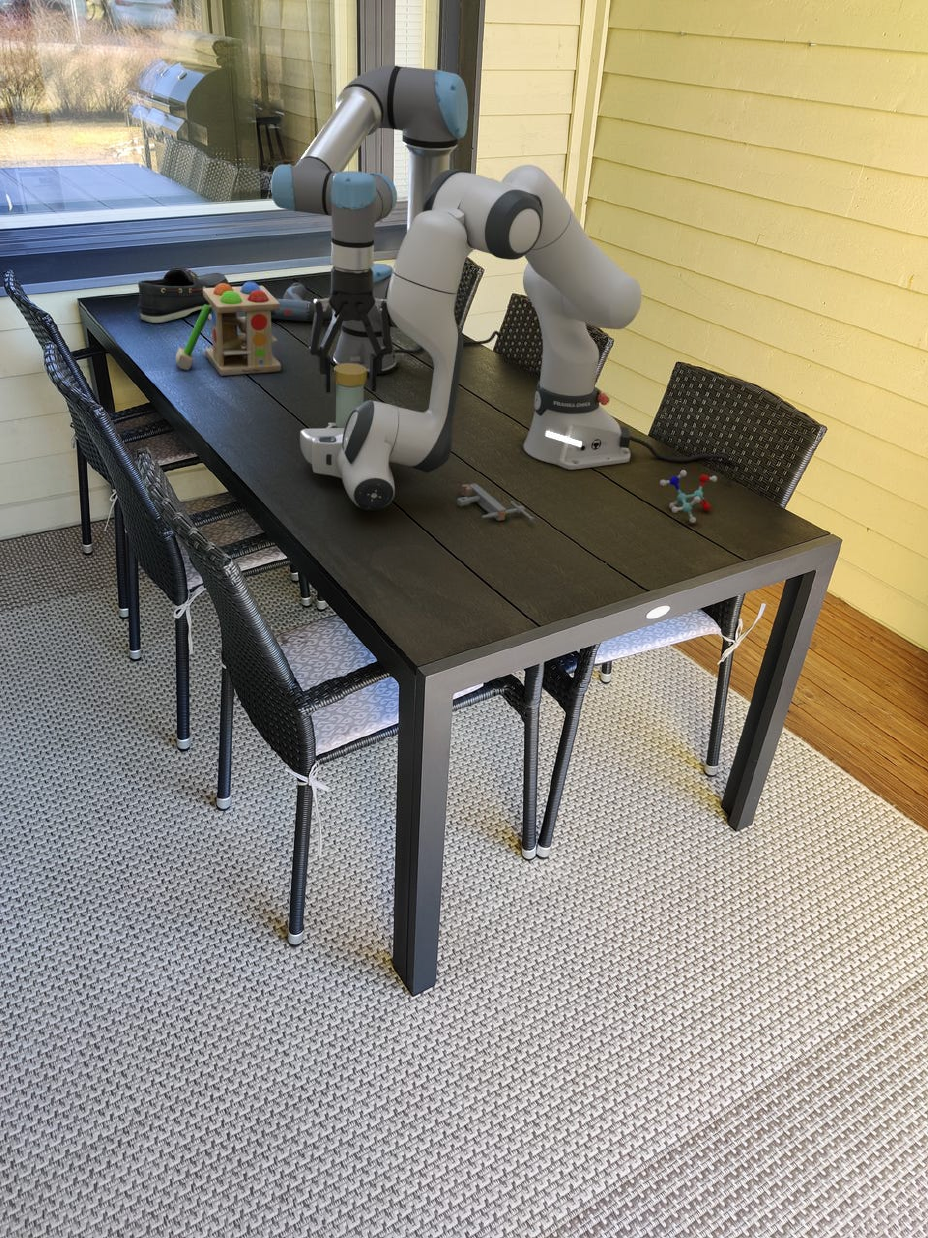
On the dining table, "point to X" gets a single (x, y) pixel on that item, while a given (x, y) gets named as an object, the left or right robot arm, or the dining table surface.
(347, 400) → the jar
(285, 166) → the left robot arm
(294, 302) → the power drill
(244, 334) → the pounding bench toy
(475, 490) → the clamp
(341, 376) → the lid
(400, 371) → the dining table surface
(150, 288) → the boat shoe
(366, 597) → the dining table surface
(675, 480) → the molecular model
